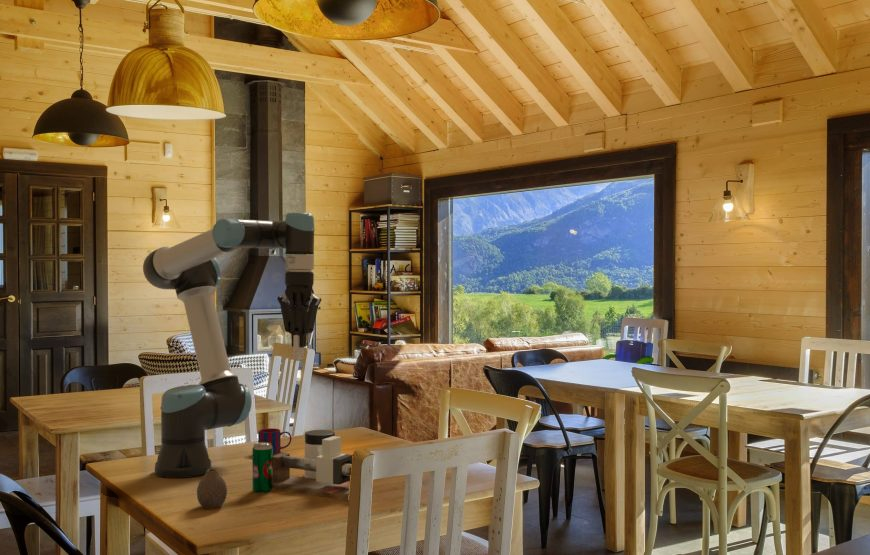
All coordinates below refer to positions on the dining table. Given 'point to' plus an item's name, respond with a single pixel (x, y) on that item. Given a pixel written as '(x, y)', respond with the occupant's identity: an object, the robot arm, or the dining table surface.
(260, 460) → the soda can
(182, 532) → the dining table surface
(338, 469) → the dark grey square collar
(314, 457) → the jar
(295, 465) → the pipe
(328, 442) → the sleeve
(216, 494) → the vase
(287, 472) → the stand
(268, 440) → the mug
